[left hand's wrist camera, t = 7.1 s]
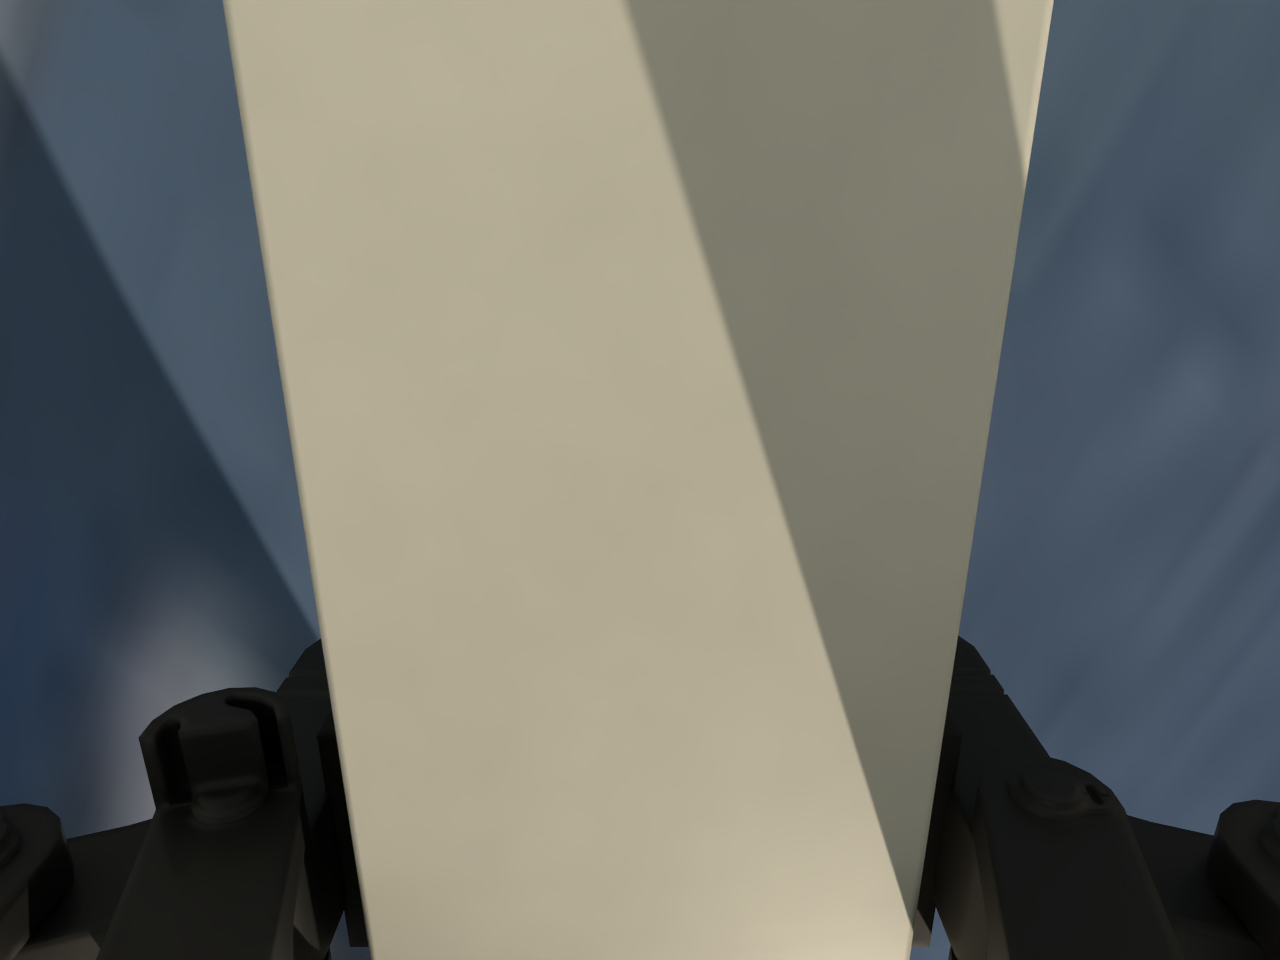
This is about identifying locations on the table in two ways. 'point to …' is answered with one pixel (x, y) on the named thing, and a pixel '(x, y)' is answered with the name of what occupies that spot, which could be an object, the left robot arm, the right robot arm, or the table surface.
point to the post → (638, 445)
